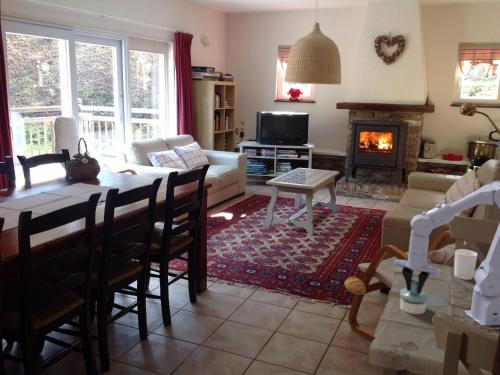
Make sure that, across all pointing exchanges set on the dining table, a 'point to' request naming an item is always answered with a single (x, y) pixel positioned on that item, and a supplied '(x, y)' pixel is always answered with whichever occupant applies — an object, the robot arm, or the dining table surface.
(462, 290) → the dining table surface
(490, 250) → the robot arm
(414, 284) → the lid
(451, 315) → the dining table surface
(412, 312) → the bowl
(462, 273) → the white cup
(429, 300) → the mat
